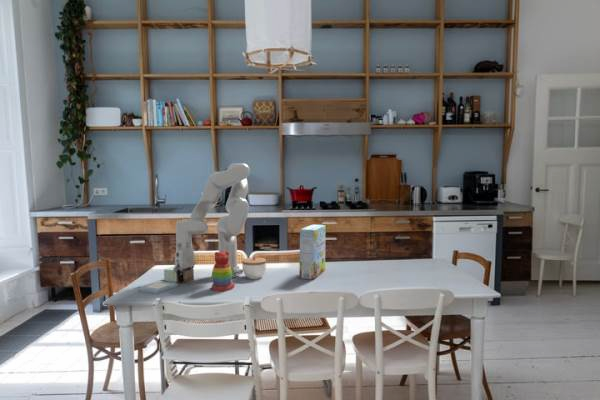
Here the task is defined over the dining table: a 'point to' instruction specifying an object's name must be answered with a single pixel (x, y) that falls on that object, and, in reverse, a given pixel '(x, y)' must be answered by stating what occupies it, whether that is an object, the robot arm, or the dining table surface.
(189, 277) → the walnut block
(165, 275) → the sage block
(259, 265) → the lidded bowl
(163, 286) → the board
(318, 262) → the snack box
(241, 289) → the dining table surface
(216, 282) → the stacking bear
